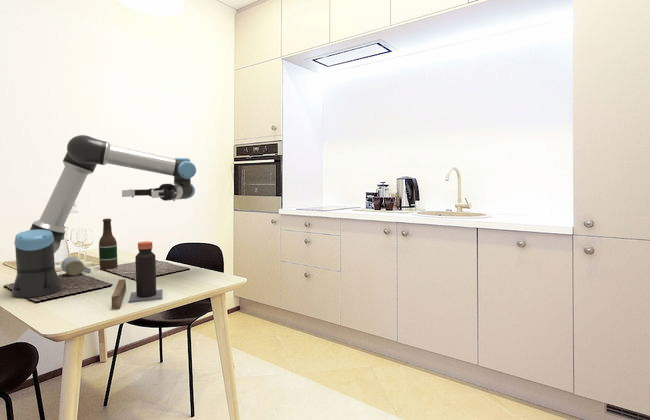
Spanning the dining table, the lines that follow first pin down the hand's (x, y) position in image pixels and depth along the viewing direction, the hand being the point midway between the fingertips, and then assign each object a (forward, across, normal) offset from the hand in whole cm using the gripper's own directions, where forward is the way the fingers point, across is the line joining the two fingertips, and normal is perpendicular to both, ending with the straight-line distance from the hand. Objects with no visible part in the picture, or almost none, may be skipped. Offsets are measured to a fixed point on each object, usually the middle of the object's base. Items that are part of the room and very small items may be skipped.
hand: (137, 194), depth 151 cm
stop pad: (+9, -10, -38) cm, 40 cm away
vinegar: (+9, -10, -38) cm, 40 cm away
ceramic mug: (-11, +42, -38) cm, 58 cm away
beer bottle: (-24, +36, -38) cm, 58 cm away
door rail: (+14, -3, -38) cm, 41 cm away
